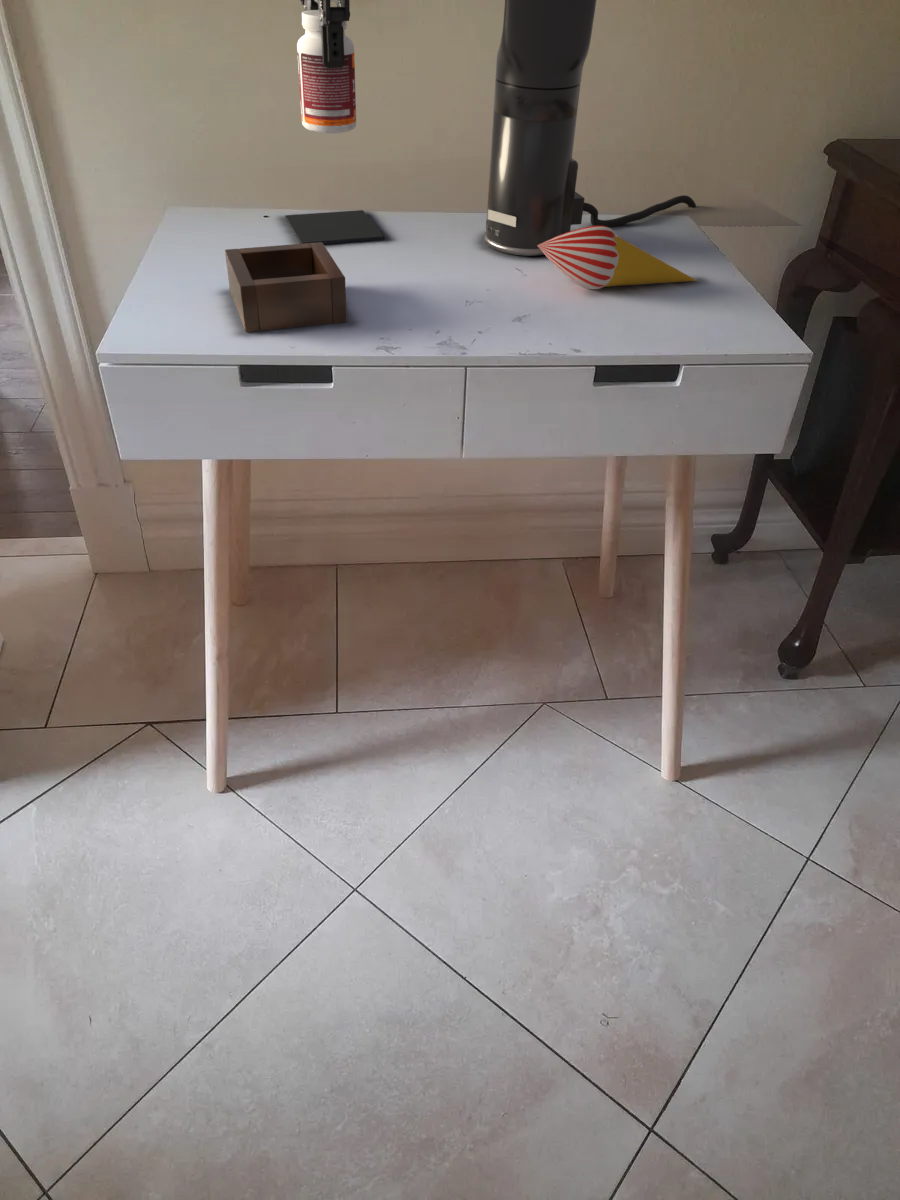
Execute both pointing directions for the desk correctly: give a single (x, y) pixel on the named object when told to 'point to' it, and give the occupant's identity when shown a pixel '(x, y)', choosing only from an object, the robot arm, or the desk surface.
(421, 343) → the desk surface
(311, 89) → the pill bottle
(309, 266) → the holder
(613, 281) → the ice cream cone
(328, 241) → the coaster
